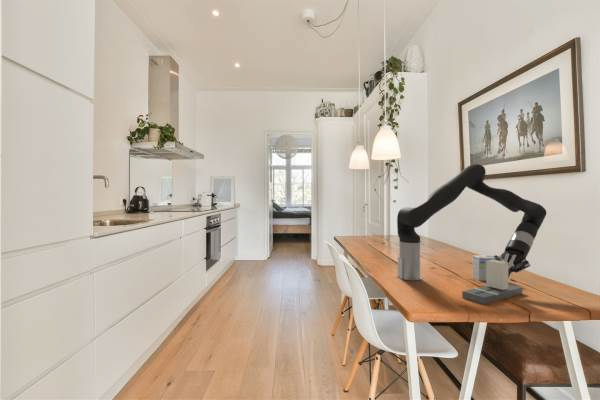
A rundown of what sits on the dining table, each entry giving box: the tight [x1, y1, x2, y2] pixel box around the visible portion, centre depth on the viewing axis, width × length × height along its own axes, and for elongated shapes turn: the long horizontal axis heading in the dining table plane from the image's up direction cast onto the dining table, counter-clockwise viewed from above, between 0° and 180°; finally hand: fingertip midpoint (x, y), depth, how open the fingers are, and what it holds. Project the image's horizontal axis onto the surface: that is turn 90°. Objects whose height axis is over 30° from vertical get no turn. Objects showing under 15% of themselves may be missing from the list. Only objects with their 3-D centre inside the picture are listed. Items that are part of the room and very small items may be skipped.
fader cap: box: [485, 260, 509, 290], centre depth 116 cm, size 4×6×10 cm, turn 28°
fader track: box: [461, 283, 523, 305], centre depth 115 cm, size 26×9×3 cm, turn 118°
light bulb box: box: [472, 254, 504, 282], centre depth 138 cm, size 11×7×11 cm, turn 84°
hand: (502, 277), depth 117 cm, fingers closed
